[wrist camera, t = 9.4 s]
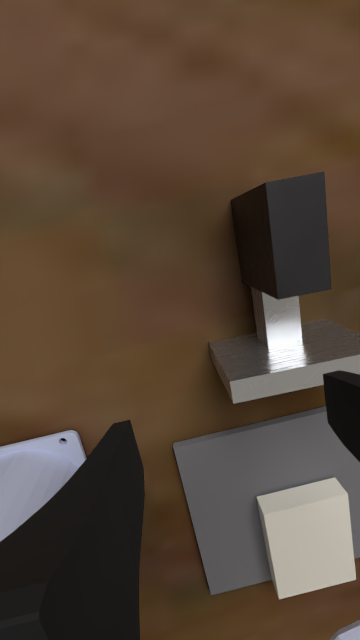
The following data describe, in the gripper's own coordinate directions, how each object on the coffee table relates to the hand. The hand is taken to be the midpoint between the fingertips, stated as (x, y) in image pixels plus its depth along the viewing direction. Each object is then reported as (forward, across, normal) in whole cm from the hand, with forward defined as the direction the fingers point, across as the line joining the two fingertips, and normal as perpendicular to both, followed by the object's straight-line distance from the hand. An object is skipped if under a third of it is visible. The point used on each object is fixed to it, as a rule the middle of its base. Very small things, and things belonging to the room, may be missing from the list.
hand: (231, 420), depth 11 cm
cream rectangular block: (+8, -5, +12) cm, 16 cm away
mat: (+10, -5, +14) cm, 18 cm away
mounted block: (+10, -5, -3) cm, 11 cm away
